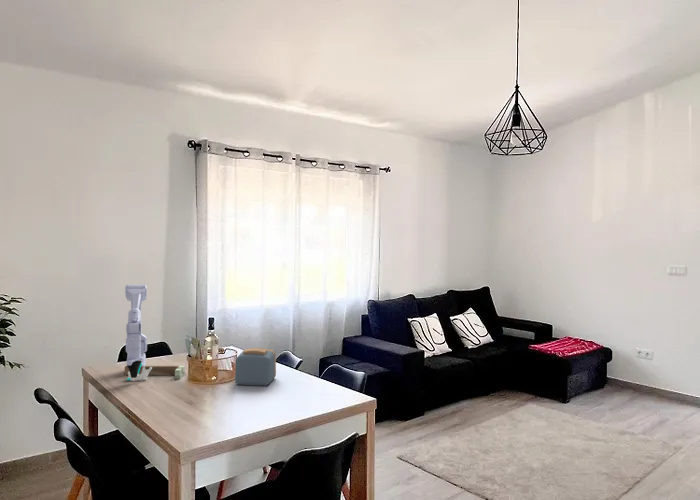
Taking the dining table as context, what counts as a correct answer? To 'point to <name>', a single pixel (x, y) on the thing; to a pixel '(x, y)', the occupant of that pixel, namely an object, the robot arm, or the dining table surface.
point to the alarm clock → (255, 367)
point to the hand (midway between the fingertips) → (134, 377)
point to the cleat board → (162, 370)
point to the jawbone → (140, 376)
